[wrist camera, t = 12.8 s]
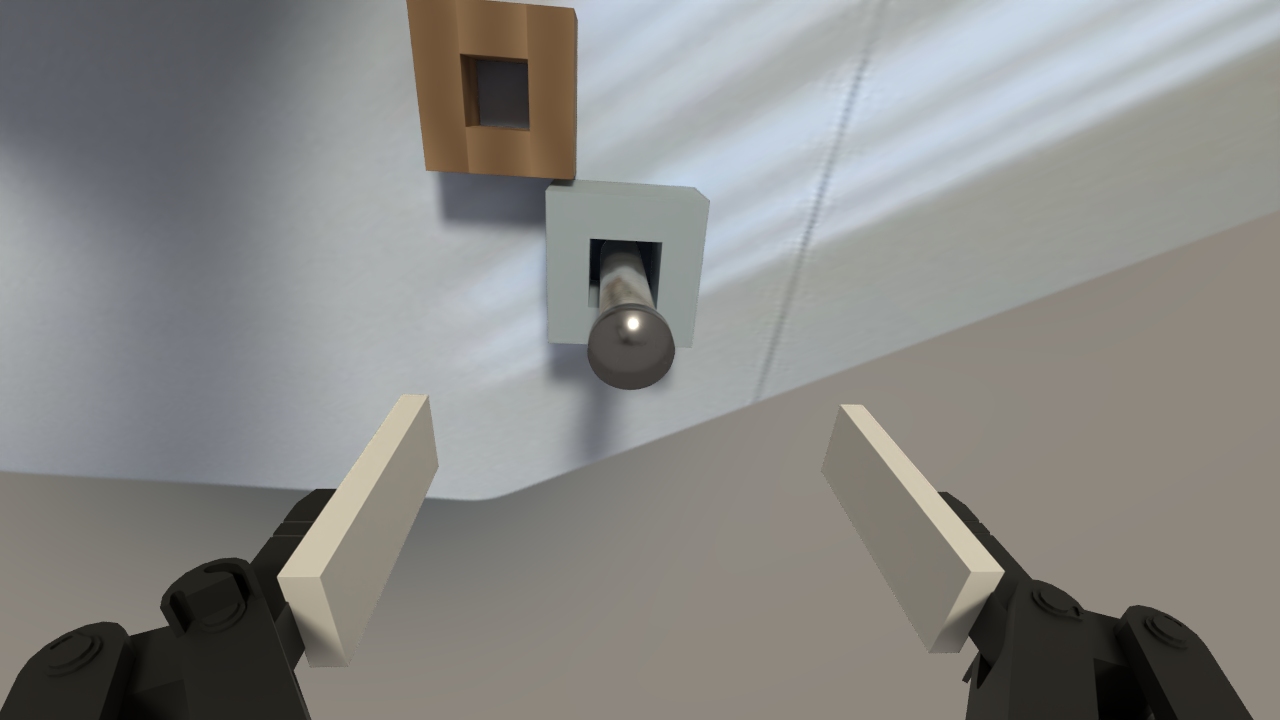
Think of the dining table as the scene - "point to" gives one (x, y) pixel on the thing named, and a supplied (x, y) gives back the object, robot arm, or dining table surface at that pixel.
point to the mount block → (448, 89)
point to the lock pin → (628, 323)
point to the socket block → (622, 215)
